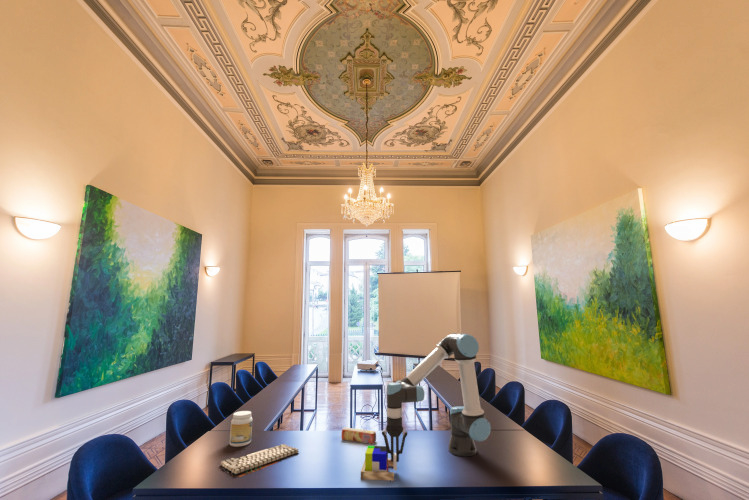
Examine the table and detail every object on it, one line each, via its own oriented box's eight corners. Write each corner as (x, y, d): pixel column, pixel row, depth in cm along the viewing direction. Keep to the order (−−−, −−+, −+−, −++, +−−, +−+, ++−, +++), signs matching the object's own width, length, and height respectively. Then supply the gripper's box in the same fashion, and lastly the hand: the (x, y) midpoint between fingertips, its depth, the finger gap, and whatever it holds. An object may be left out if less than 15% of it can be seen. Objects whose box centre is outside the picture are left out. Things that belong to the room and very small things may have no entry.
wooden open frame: (395, 465, 168) (395, 459, 169) (393, 480, 153) (393, 473, 153) (365, 464, 170) (365, 457, 171) (360, 478, 155) (360, 471, 155)
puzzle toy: (386, 477, 156) (386, 454, 158) (365, 476, 157) (365, 453, 159) (388, 468, 165) (387, 446, 167) (368, 467, 166) (368, 445, 168)
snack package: (376, 441, 202) (376, 429, 203) (373, 445, 196) (373, 432, 197) (345, 437, 209) (345, 425, 211) (340, 441, 203) (340, 428, 205)
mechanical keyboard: (281, 446, 195) (281, 440, 196) (301, 455, 183) (301, 448, 184) (216, 469, 167) (217, 461, 168) (235, 480, 155) (236, 472, 156)
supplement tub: (253, 444, 197) (255, 413, 201) (231, 449, 190) (234, 417, 194) (248, 438, 207) (250, 409, 210) (227, 442, 200) (229, 412, 204)
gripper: (407, 414, 169) (408, 466, 164) (382, 413, 170) (382, 465, 165) (407, 418, 161) (408, 473, 156) (380, 418, 163) (381, 471, 158)
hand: (395, 468), depth 161 cm, fingers closed
